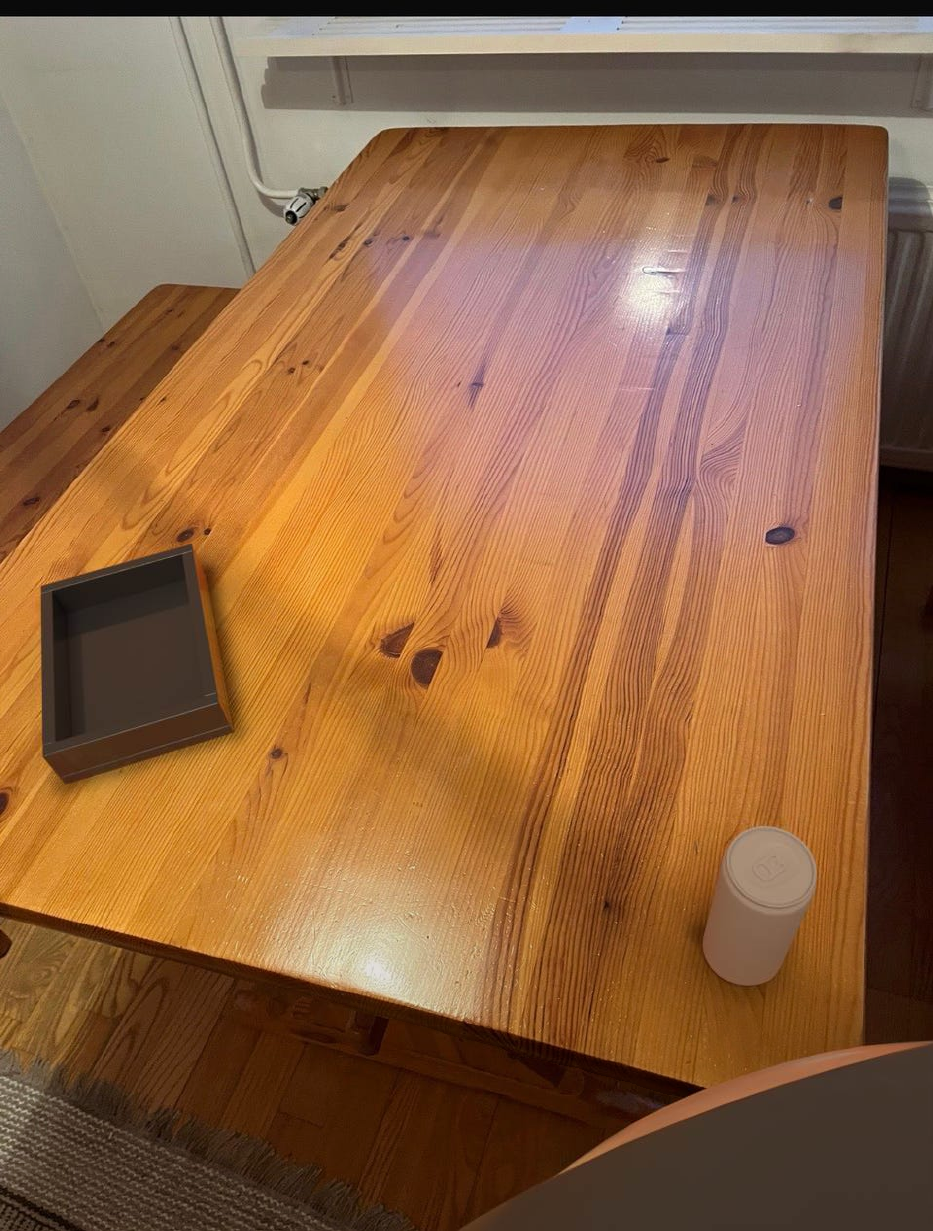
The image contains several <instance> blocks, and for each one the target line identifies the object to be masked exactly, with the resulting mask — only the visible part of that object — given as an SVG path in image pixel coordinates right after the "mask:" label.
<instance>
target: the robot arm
mask: <svg viewBox="0 0 933 1231" xmlns="http://www.w3.org/2000/svg"><path fill="white" fill-rule="evenodd" d="M457 1231H933V1040H922V1041H921V1040H920V1041H919V1040H918V1041H904V1042H892V1043H881V1044H871V1045H870V1044H869V1045H861V1046H855V1047H850V1048H849V1047H848V1048H844V1049H837V1050H833V1051H828V1052H822V1053H821V1052H820V1053H818V1054H814V1055H810V1056H806V1057H802V1058H797V1059H793V1060H789V1061H785V1062H781V1063H778V1064H774V1065H772V1066H771V1065H770V1066H768V1067H765V1068H763V1069H758V1070H755V1071H753V1072H749V1073H746V1074H743V1075H740V1076H736V1077H734V1078H732V1079H728V1080H726V1081H724V1082H720V1083H718V1084H716V1085H713V1086H710V1087H707V1088H705V1089H702V1090H700V1091H697V1092H695V1093H693V1094H691V1095H689V1096H686V1097H684V1098H681V1099H680V1100H677V1101H675V1102H673V1103H669V1105H665V1106H663V1107H662V1108H660V1109H657V1110H656V1111H653V1112H652V1113H650V1114H649V1115H647V1116H644V1117H642V1118H640V1119H639V1120H636V1121H635V1122H633V1123H631V1124H629V1125H628V1126H626V1127H625V1128H623V1129H621V1130H620V1131H618V1132H617V1133H615V1134H613V1135H612V1136H610V1137H609V1138H607V1139H605V1140H604V1141H602V1142H601V1143H599V1144H598V1145H597V1146H595V1147H594V1148H592V1149H591V1150H590V1151H588V1152H586V1153H585V1154H584V1155H583V1156H581V1157H580V1158H578V1159H577V1160H575V1161H574V1162H573V1163H571V1164H570V1165H568V1166H567V1167H566V1168H564V1169H563V1170H561V1171H560V1172H559V1173H557V1174H556V1175H554V1176H552V1177H550V1178H549V1179H546V1180H544V1181H542V1182H540V1183H538V1184H536V1185H534V1186H531V1187H530V1188H527V1189H526V1190H524V1191H522V1192H520V1193H519V1194H517V1195H515V1196H513V1197H511V1198H509V1199H508V1200H506V1201H504V1202H503V1203H500V1204H499V1205H497V1206H495V1207H494V1208H492V1209H490V1210H488V1211H487V1212H485V1213H484V1214H482V1215H481V1216H479V1217H477V1218H475V1219H474V1220H473V1221H471V1222H469V1223H468V1224H466V1225H464V1226H463V1227H461V1228H459V1229H458V1230H457Z"/></svg>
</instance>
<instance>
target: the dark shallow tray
mask: <svg viewBox="0 0 933 1231" xmlns="http://www.w3.org/2000/svg"><path fill="white" fill-rule="evenodd" d="M213 612H214V611H213V606H212V602H211V597H210V590H209V584H208V579H207V574H206V572H205V569H204V568H203V565H202V562H201V561H200V558H199V556H198V554H197V552H196V549H195V547H194V545H193V543H188V544H184V545H181V546H177V547H173V548H170V549H166V550H163V551H159V552H156V553H153V554H152V553H151V554H150V555H145V556H141V557H138V558H134V559H132V560H128V561H124V562H121V563H120V562H119V563H117V564H114V565H113V564H112V565H109V566H107V567H103V568H99V569H96V570H92V571H88V572H84V573H81V574H78V575H74V576H71V577H66V578H63V579H59V580H57V581H53V582H49V583H46V584H42V585H40V670H41V674H40V676H41V677H40V678H41V679H40V680H41V682H40V684H41V748H42V749H41V754H42V756H41V757H42V758H43V760H45V762H46V763H47V765H48V766H49V767H50V769H52V770H53V772H54V773H55V774H56V775H57V776H58V777H59V778H60V779H59V780H61V781H62V782H63V784H64V785H68V784H72V783H75V782H79V781H81V780H84V779H87V778H91V777H94V776H97V775H101V774H104V773H107V772H111V771H113V770H114V771H115V770H117V769H120V768H123V767H126V766H129V765H133V764H136V763H139V762H143V761H145V760H149V759H153V758H155V757H159V756H162V755H165V754H169V753H172V752H174V751H178V750H181V749H184V748H188V747H191V746H194V745H197V744H200V743H204V742H207V741H211V740H214V739H216V738H220V737H223V736H227V735H230V734H233V733H234V732H235V731H234V730H235V729H234V725H233V718H232V713H231V708H230V703H229V697H228V692H227V691H228V690H227V685H226V680H225V675H224V674H225V673H224V669H223V663H222V657H221V652H220V645H219V642H218V635H217V631H216V625H215V618H214V613H213Z"/></svg>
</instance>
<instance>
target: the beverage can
mask: <svg viewBox="0 0 933 1231" xmlns="http://www.w3.org/2000/svg"><path fill="white" fill-rule="evenodd" d="M814 858H815V857H814V855H813V853H812V851H811V850H810V849H809V847H808V846H807V845H806V843H805V842H804V841H803V840H801V839H800V838H799V837H798V836H797V835H795V834H793V833H791V832H790V831H788V830H786V829H784V828H780V827H777V826H771V825H759V826H753V827H749V828H747V829H745V830H743V831H741V832H740V833H739V834H738V835H736V836H735V837H734V838H733V839H732V840H731V842H730V843H729V844H728V846H727V847H726V849H725V851H724V853H723V857H722V859H721V860H722V861H721V864H720V868H719V869H720V870H719V873H718V876H717V881H716V884H715V889H714V893H713V898H712V901H711V902H712V903H711V907H710V910H709V914H708V918H707V922H706V925H705V929H704V933H703V937H702V952H703V954H704V958H705V960H706V962H707V963H708V965H709V967H710V968H711V970H712V971H713V972H714V973H715V974H716V975H717V976H718V977H720V978H721V979H723V980H725V981H726V982H728V983H731V984H735V985H739V986H748V987H751V986H758V985H759V986H760V985H763V984H765V983H768V982H770V981H771V980H772V979H773V978H774V977H775V976H777V974H778V972H779V971H780V969H781V968H782V965H783V963H784V961H785V960H786V959H785V958H786V956H787V954H788V952H789V950H790V948H791V946H792V943H793V941H794V939H795V937H796V934H797V933H798V930H799V928H800V926H801V924H802V921H803V919H804V917H805V915H806V912H807V911H808V909H809V906H810V905H811V902H812V900H813V897H814V896H815V893H816V888H817V882H818V878H817V876H818V871H817V863H816V861H815V859H814Z"/></svg>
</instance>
